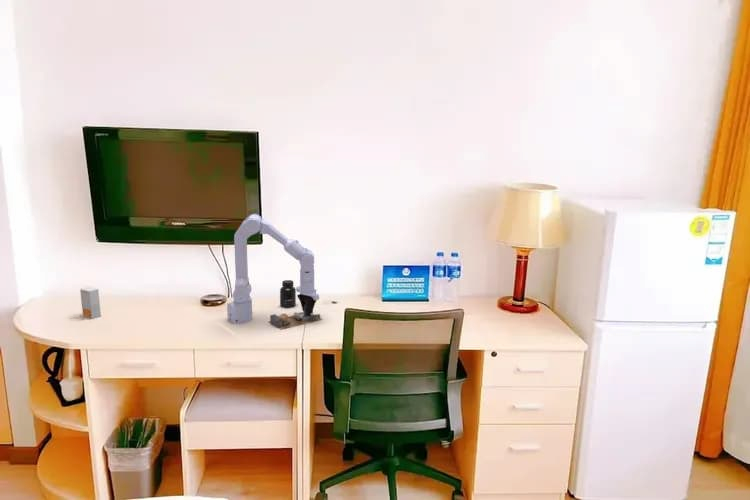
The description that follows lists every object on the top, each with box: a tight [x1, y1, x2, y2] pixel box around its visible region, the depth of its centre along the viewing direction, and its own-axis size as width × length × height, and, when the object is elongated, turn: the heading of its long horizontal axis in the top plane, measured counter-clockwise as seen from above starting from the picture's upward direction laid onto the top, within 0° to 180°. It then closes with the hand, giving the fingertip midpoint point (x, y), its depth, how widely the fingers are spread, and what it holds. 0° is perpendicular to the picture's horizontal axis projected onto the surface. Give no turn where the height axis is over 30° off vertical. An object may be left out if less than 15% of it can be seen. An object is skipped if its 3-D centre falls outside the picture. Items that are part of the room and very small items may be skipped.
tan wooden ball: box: [278, 313, 290, 324], centre depth 224 cm, size 4×4×4 cm
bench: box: [267, 311, 324, 331], centre depth 227 cm, size 20×11×4 cm, turn 128°
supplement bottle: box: [279, 279, 297, 309], centre depth 244 cm, size 7×7×12 cm
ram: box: [293, 303, 315, 321], centre depth 229 cm, size 7×4×6 cm, turn 128°
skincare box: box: [79, 286, 102, 320], centre depth 229 cm, size 6×4×12 cm
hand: (307, 312), depth 230 cm, fingers closed on ram, 3 cm apart
